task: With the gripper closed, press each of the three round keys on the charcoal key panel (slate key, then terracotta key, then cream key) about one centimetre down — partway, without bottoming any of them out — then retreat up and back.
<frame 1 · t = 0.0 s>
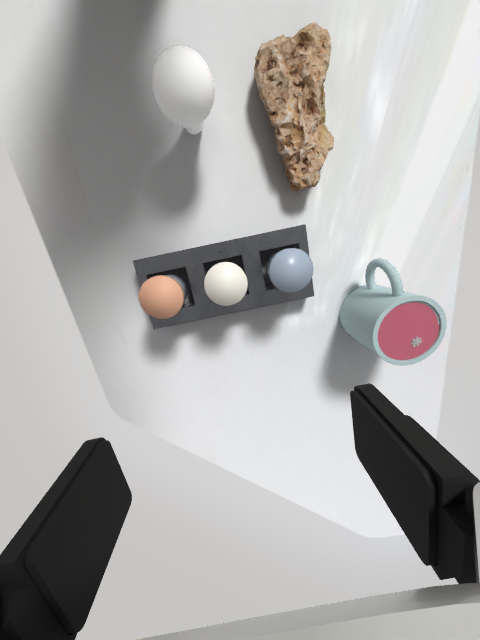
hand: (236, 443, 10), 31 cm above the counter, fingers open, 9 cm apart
lightbulb: (194, 126, 34), on the counter
slate key: (286, 268, 33), point 6 cm above the counter, slide at 0.0 cm
terracotta key: (166, 293, 34), point 6 cm above the counter, slide at 0.0 cm
key panel: (226, 276, 39), on the counter
rock: (300, 122, 34), on the counter
mug: (364, 299, 41), on the counter
cream key: (226, 281, 33), point 6 cm above the counter, slide at 0.0 cm
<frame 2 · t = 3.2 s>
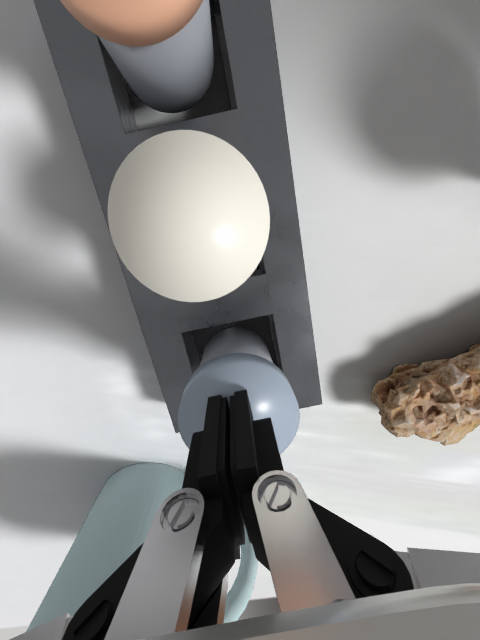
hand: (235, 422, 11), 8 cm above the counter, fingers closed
slate key: (237, 383, 14), point 5 cm above the counter, slide at 0.4 cm, touching gripper
key panel: (210, 235, 17), on the counter
rock: (467, 376, 21), on the counter
mug: (177, 496, 23), on the counter
cream key: (200, 229, 11), point 6 cm above the counter, slide at 0.0 cm
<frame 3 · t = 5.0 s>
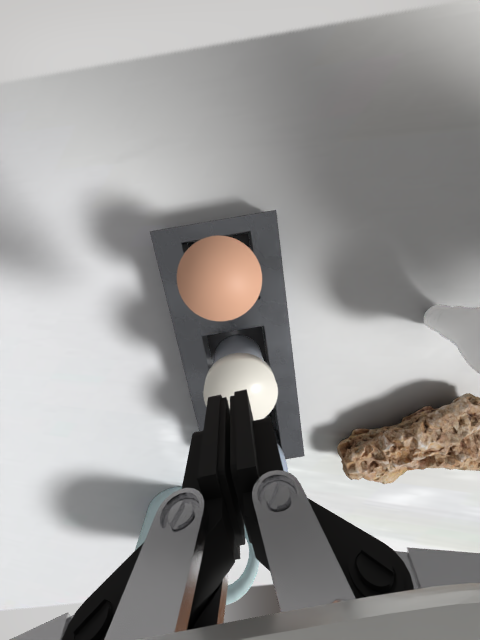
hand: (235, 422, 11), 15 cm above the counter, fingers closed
lightbulb: (428, 314, 26), on the counter
slate key: (252, 444, 24), point 5 cm above the counter, slide at 0.9 cm
terracotta key: (221, 275, 19), point 6 cm above the counter, slide at 0.0 cm
key panel: (237, 347, 26), on the counter
rock: (403, 434, 31), on the counter
mug: (201, 509, 32), on the counter
cream key: (239, 373, 21), point 6 cm above the counter, slide at 0.0 cm
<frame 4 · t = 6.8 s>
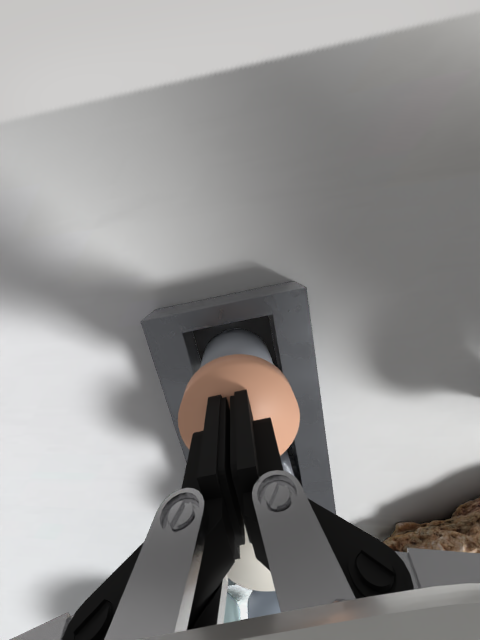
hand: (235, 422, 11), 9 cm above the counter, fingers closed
slate key: (280, 568, 19), point 5 cm above the counter, slide at 0.9 cm
terracotta key: (237, 384, 14), point 5 cm above the counter, slide at 0.2 cm, touching gripper
key panel: (255, 434, 21), on the counter
rock: (456, 521, 25), on the counter
mug: (217, 607, 27), on the counter
cream key: (263, 498, 16), point 6 cm above the counter, slide at 0.0 cm
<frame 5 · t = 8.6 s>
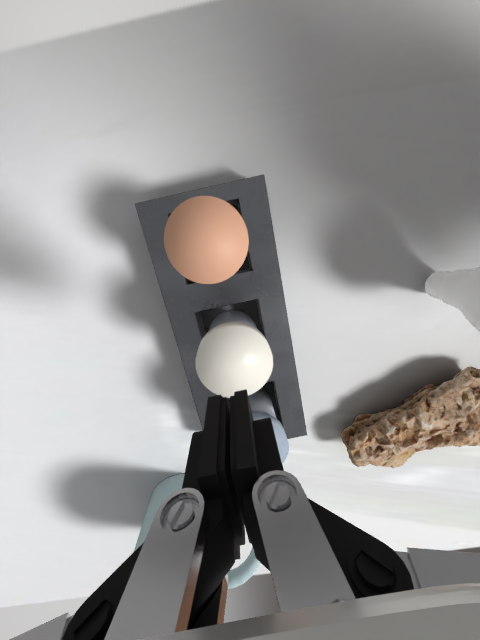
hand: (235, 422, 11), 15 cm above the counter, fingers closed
lightbulb: (429, 282, 25), on the counter
slate key: (252, 423, 23), point 5 cm above the counter, slide at 0.9 cm
terracotta key: (210, 242, 19), point 5 cm above the counter, slide at 0.9 cm
key panel: (232, 325, 25), on the counter
rock: (408, 415, 30), on the counter
mug: (206, 496, 32), on the counter
cream key: (233, 346, 20), point 6 cm above the counter, slide at 0.0 cm
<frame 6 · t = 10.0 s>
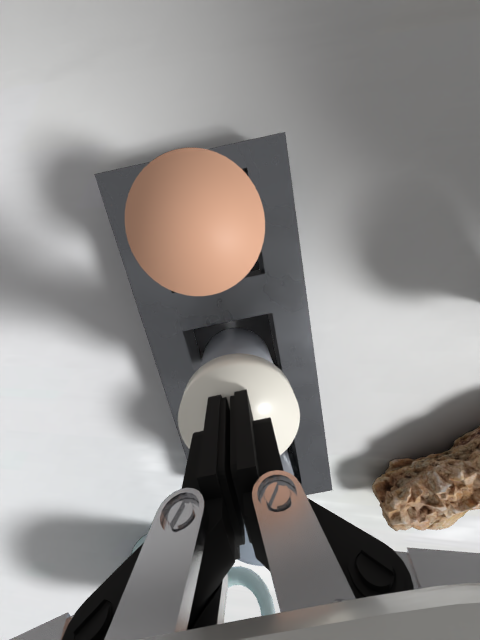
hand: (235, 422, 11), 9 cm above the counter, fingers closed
slate key: (261, 482, 17), point 5 cm above the counter, slide at 0.9 cm
terracotta key: (204, 232, 12), point 5 cm above the counter, slide at 0.9 cm
key panel: (235, 345, 19), on the counter
rock: (456, 458, 24), on the counter
mug: (200, 552, 25), on the counter
cream key: (237, 383, 14), point 6 cm above the counter, slide at 0.0 cm, touching gripper
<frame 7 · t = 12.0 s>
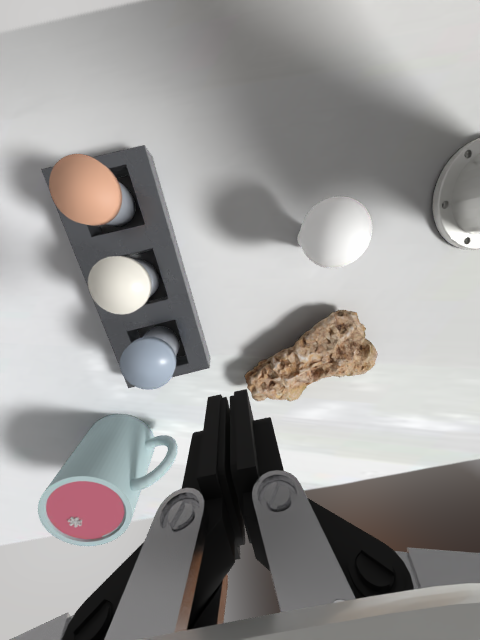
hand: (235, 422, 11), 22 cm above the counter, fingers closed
lightbulb: (305, 238, 31), on the counter
slate key: (155, 353, 28), point 5 cm above the counter, slide at 0.9 cm
terracotta key: (100, 198, 24), point 5 cm above the counter, slide at 0.9 cm
key panel: (143, 277, 30), on the counter
rock: (305, 359, 35), on the counter
mug: (137, 436, 36), on the counter
cream key: (130, 282, 26), point 5 cm above the counter, slide at 0.9 cm
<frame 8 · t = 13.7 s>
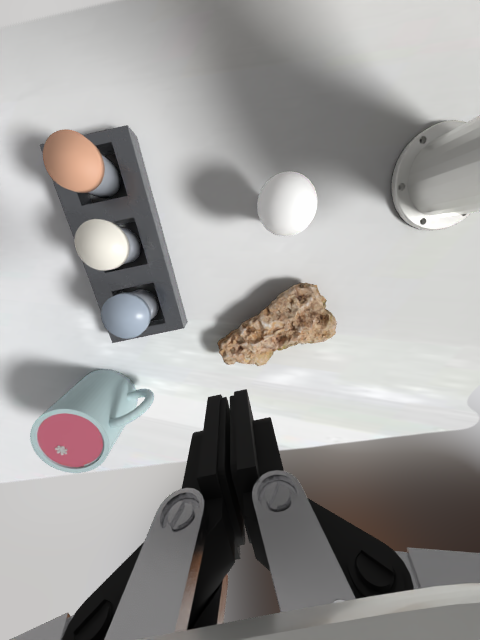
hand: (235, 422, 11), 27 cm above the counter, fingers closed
lightbulb: (273, 215, 34), on the counter
slate key: (134, 310, 32), point 5 cm above the counter, slide at 0.9 cm
terracotta key: (88, 170, 28), point 5 cm above the counter, slide at 0.9 cm
key panel: (128, 245, 34), on the counter
rock: (275, 330, 39), on the counter
mug: (122, 391, 40), on the counter
cream key: (113, 245, 30), point 5 cm above the counter, slide at 0.9 cm
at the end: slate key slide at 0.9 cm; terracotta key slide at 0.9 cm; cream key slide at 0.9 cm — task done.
